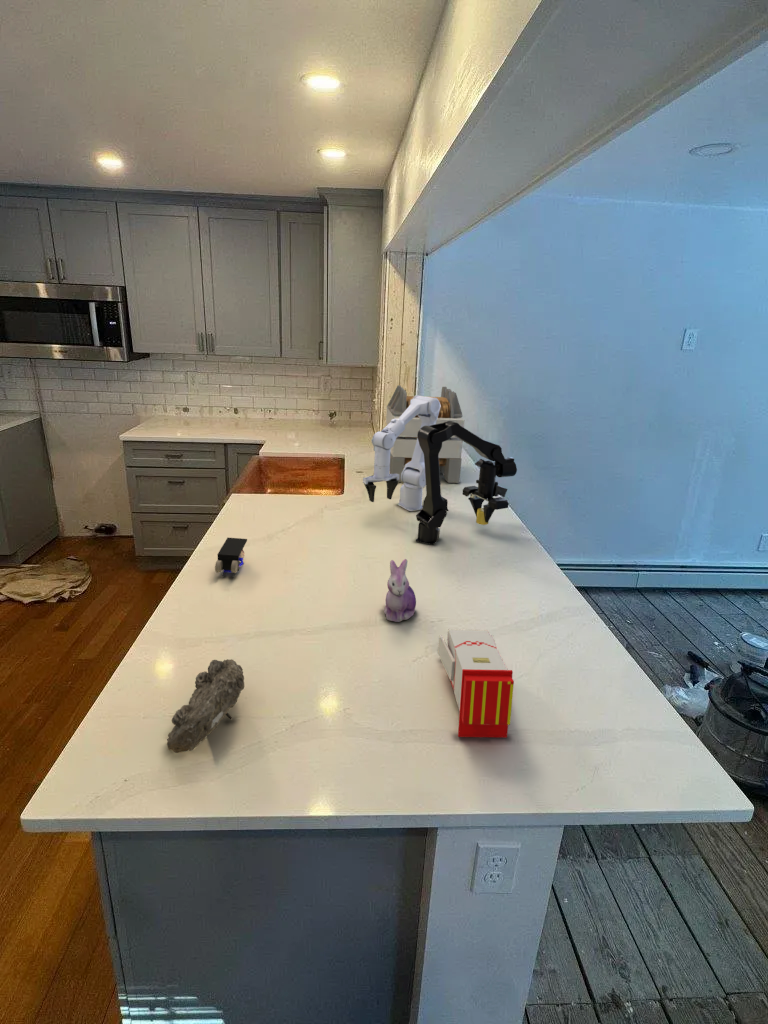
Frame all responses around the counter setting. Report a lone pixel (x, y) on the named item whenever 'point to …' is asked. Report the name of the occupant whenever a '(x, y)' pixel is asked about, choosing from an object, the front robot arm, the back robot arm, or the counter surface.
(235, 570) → the black wheeled block
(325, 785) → the counter surface
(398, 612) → the figurine
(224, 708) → the fossil
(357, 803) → the counter surface
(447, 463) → the transformer
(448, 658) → the toy
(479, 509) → the cylinder
